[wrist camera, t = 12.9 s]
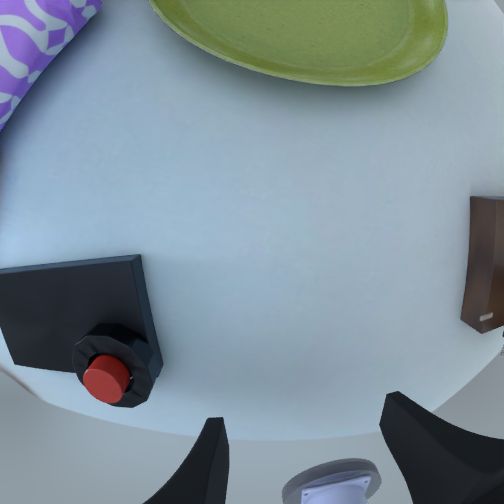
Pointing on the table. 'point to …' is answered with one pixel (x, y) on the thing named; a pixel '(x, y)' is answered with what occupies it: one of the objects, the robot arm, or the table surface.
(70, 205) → the table surface
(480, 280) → the stand
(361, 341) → the table surface
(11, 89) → the pencil case
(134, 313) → the button dock
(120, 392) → the dock button
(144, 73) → the table surface
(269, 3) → the green plate
